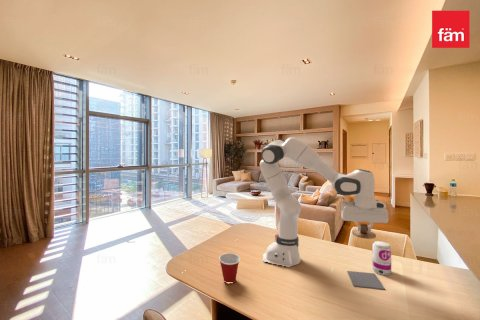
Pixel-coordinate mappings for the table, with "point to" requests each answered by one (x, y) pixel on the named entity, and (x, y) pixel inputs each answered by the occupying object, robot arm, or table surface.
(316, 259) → the table surface
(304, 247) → the table surface
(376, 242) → the supplement can
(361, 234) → the lid
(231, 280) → the plastic cup
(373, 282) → the mat
